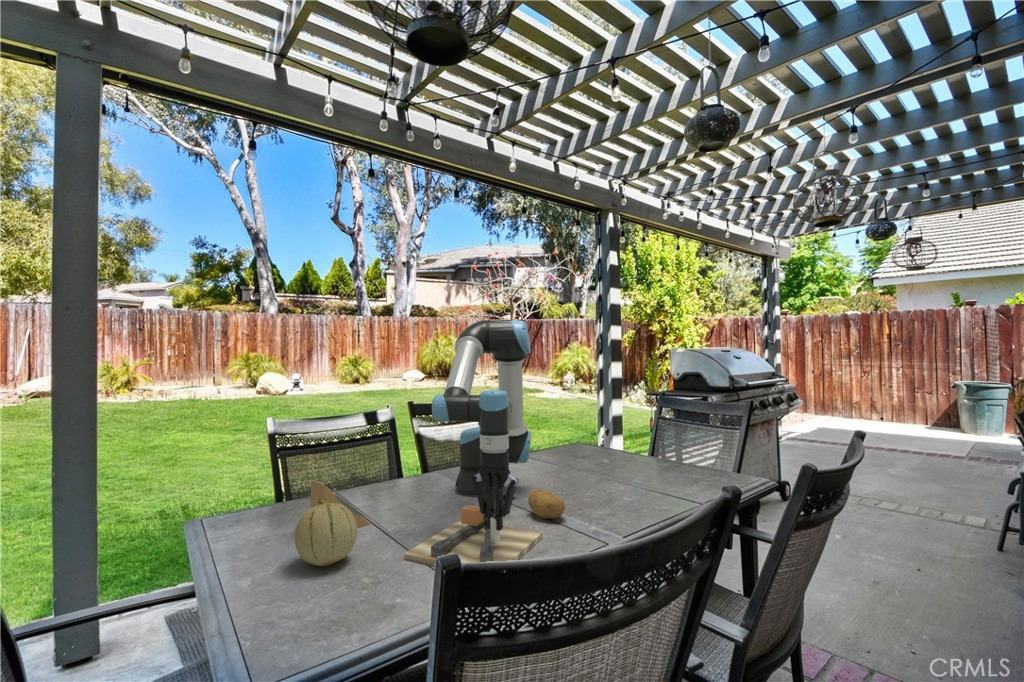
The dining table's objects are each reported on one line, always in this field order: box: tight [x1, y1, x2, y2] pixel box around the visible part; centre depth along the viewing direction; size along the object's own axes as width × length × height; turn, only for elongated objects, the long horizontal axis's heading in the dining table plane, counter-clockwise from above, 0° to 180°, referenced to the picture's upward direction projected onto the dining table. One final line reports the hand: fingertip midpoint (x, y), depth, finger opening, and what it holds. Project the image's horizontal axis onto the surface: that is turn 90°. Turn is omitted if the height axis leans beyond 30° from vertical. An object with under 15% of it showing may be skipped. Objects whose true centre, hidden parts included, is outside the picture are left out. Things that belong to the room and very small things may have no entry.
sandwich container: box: [310, 479, 372, 529], centre depth 146 cm, size 9×15×15 cm, turn 136°
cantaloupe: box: [293, 500, 358, 567], centre depth 121 cm, size 15×15×15 cm
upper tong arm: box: [480, 517, 494, 562], centre depth 129 cm, size 24×4×3 cm, turn 178°
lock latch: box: [460, 504, 484, 526], centre depth 138 cm, size 4×5×4 cm
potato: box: [527, 488, 566, 520], centre depth 154 cm, size 10×14×8 cm
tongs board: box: [403, 514, 544, 567], centre depth 130 cm, size 28×26×5 cm
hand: (495, 542), depth 127 cm, fingers closed
